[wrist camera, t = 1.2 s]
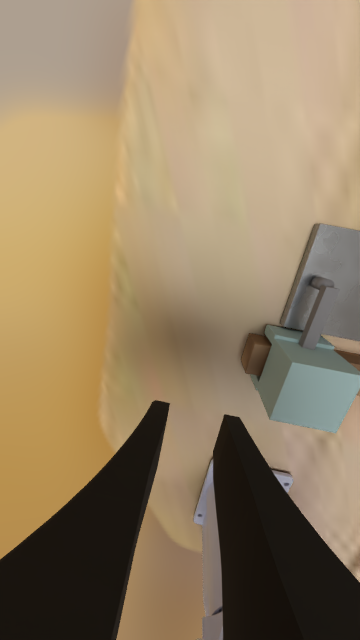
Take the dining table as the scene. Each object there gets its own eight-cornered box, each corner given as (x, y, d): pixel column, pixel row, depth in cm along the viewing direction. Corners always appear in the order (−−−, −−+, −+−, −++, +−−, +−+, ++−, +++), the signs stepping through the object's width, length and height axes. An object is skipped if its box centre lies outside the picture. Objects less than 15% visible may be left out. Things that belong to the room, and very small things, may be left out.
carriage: (298, 384, 19) (334, 436, 14) (250, 375, 19) (268, 422, 14) (342, 280, 16) (408, 298, 11) (285, 269, 16) (324, 282, 11)
